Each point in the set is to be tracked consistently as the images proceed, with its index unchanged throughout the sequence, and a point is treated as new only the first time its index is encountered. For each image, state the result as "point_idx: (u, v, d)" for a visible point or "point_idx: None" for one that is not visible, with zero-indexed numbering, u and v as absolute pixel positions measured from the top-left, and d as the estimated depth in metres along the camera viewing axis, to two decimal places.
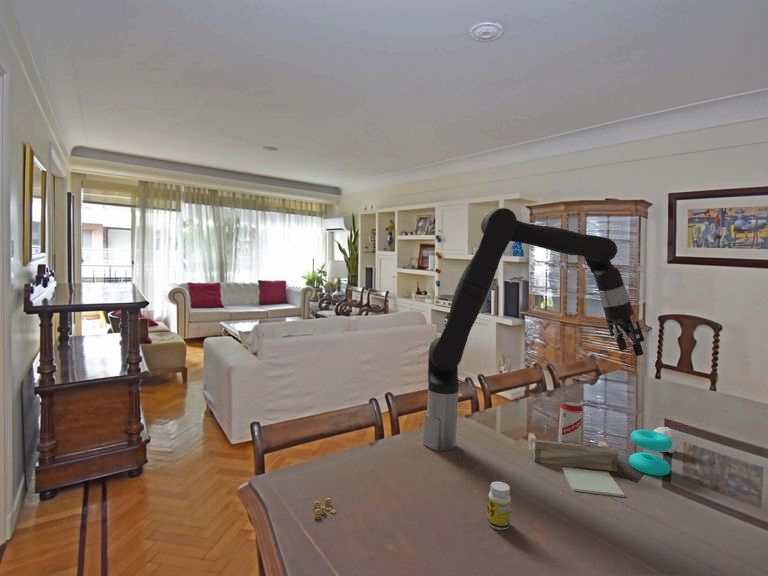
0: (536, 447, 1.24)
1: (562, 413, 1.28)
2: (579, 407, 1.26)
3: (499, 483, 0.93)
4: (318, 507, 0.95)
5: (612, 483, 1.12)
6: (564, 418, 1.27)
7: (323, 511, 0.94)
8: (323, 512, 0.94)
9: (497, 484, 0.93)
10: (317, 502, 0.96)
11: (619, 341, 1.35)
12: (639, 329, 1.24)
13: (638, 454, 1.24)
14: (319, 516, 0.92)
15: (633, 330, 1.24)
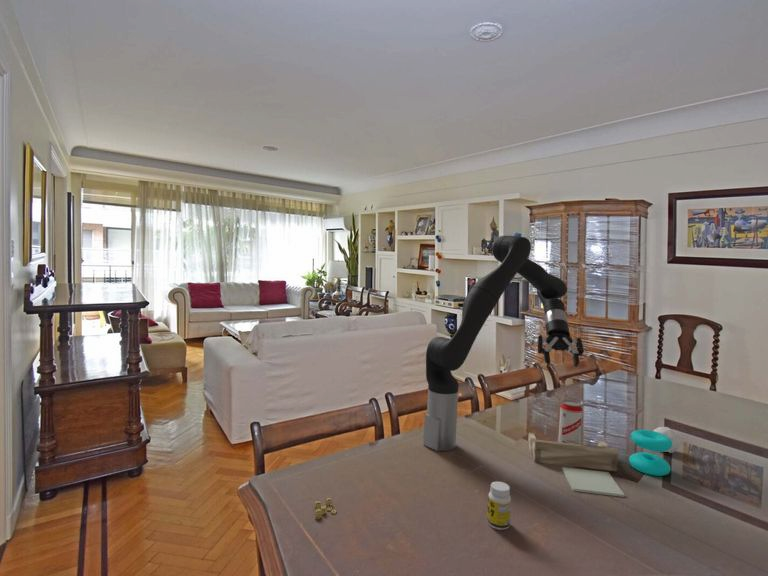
0: (536, 447, 1.24)
1: (562, 413, 1.28)
2: (579, 407, 1.26)
3: (499, 483, 0.93)
4: (319, 507, 0.95)
5: (612, 483, 1.12)
6: (564, 418, 1.27)
7: (324, 511, 0.94)
8: (324, 512, 0.94)
9: (497, 484, 0.93)
10: (318, 502, 0.96)
11: None
12: None
13: (638, 454, 1.24)
14: (320, 516, 0.92)
15: None
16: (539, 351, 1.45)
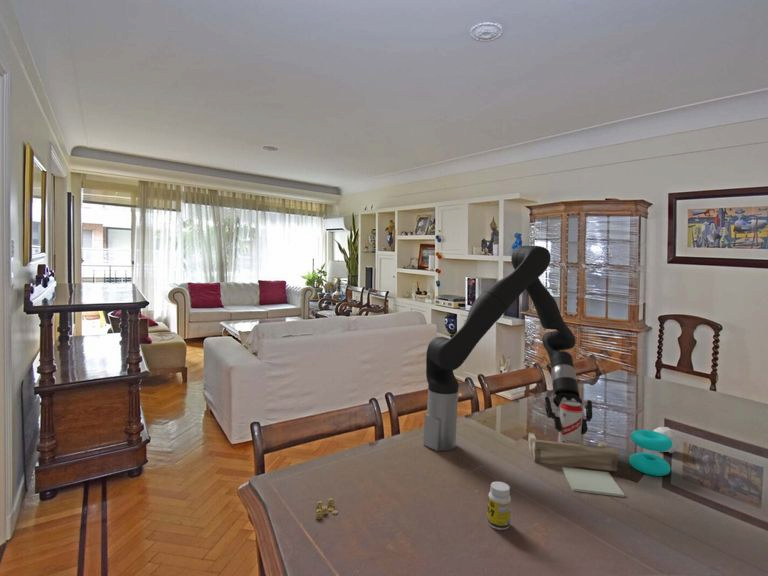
0: (536, 447, 1.24)
1: (562, 413, 1.28)
2: (579, 407, 1.26)
3: (499, 483, 0.93)
4: (320, 507, 0.95)
5: (612, 483, 1.12)
6: (564, 418, 1.27)
7: (325, 511, 0.94)
8: (325, 512, 0.94)
9: (497, 484, 0.93)
10: (319, 502, 0.96)
11: None
12: None
13: (638, 454, 1.24)
14: (320, 516, 0.92)
15: (591, 407, 1.31)
16: (549, 415, 1.31)
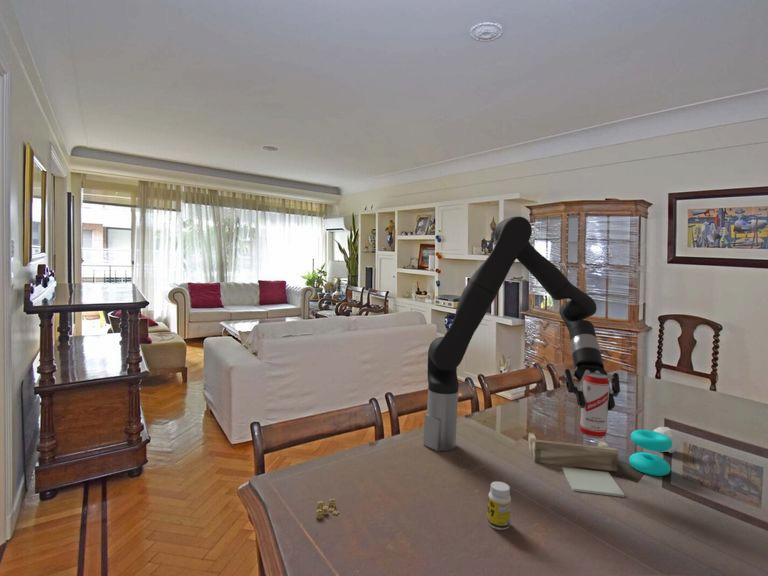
0: (536, 447, 1.24)
1: (586, 386, 1.12)
2: (606, 379, 1.11)
3: (499, 483, 0.93)
4: (321, 507, 0.95)
5: (612, 483, 1.12)
6: (589, 392, 1.11)
7: (325, 512, 0.94)
8: (325, 513, 0.94)
9: (497, 484, 0.93)
10: (320, 502, 0.96)
11: None
12: None
13: (638, 454, 1.24)
14: (321, 516, 0.92)
15: None
16: (570, 390, 1.16)
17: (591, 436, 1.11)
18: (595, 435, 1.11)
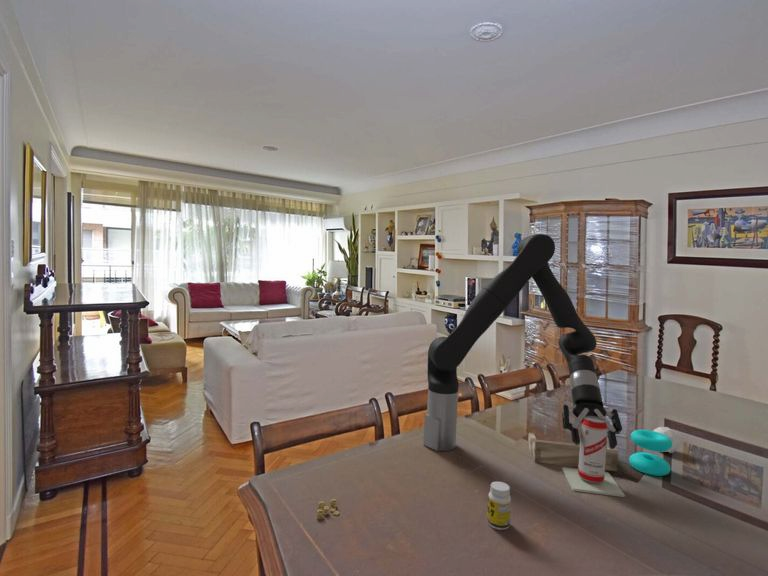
0: (536, 447, 1.24)
1: (584, 430, 1.12)
2: (604, 424, 1.11)
3: (499, 483, 0.93)
4: (322, 507, 0.95)
5: (612, 483, 1.12)
6: (587, 436, 1.11)
7: (326, 512, 0.94)
8: (326, 513, 0.94)
9: (497, 484, 0.93)
10: (322, 502, 0.96)
11: None
12: None
13: (638, 454, 1.24)
14: (321, 517, 0.92)
15: None
16: (565, 426, 1.16)
17: (589, 481, 1.11)
18: (593, 480, 1.10)
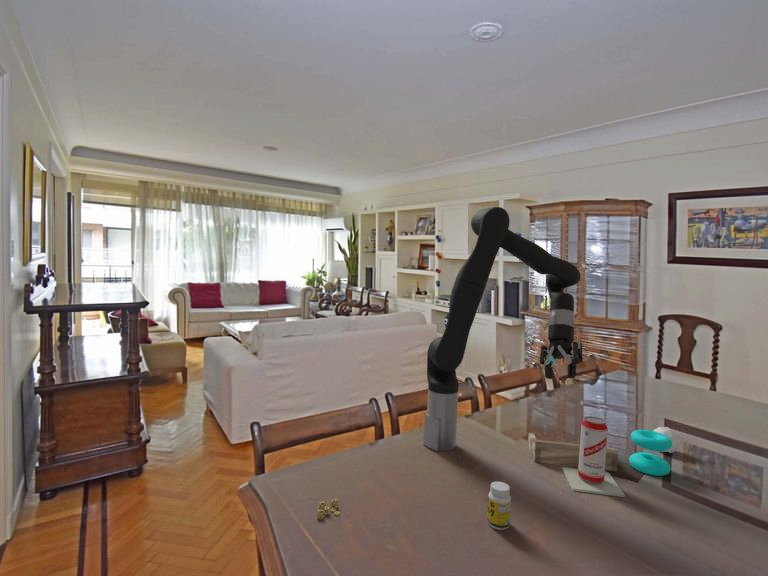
0: (536, 447, 1.24)
1: (584, 431, 1.12)
2: (604, 425, 1.10)
3: (499, 483, 0.93)
4: (323, 508, 0.95)
5: (612, 483, 1.12)
6: (587, 437, 1.11)
7: (327, 512, 0.94)
8: (327, 513, 0.94)
9: (497, 484, 0.93)
10: (322, 503, 0.96)
11: (548, 368, 1.34)
12: (581, 350, 1.26)
13: (638, 454, 1.24)
14: (321, 517, 0.92)
15: (577, 348, 1.26)
16: None
17: (589, 482, 1.11)
18: (593, 480, 1.10)
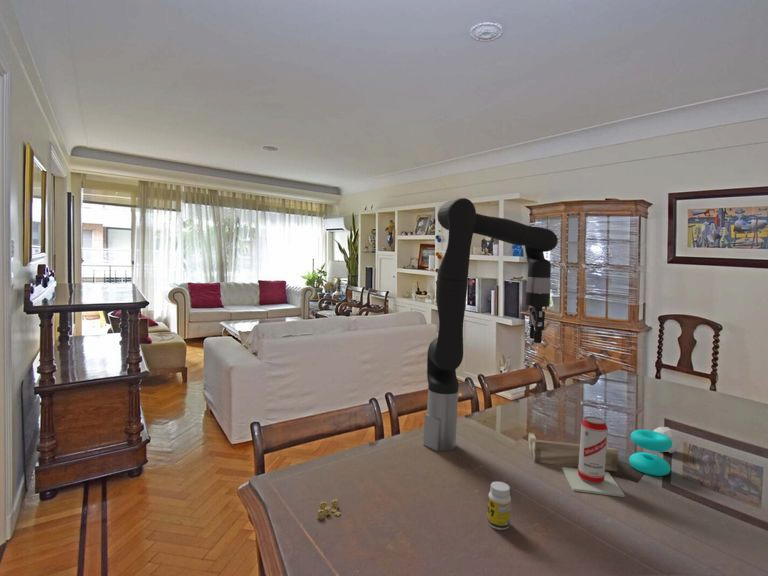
0: (536, 447, 1.24)
1: (584, 431, 1.12)
2: (604, 425, 1.10)
3: (499, 483, 0.93)
4: (324, 508, 0.95)
5: (612, 483, 1.12)
6: (587, 437, 1.11)
7: (327, 512, 0.93)
8: (327, 513, 0.93)
9: (497, 484, 0.93)
10: (323, 503, 0.96)
11: (531, 329, 1.45)
12: (543, 318, 1.34)
13: (638, 454, 1.24)
14: (322, 517, 0.92)
15: (537, 317, 1.34)
16: None
17: (589, 482, 1.11)
18: (593, 480, 1.10)
